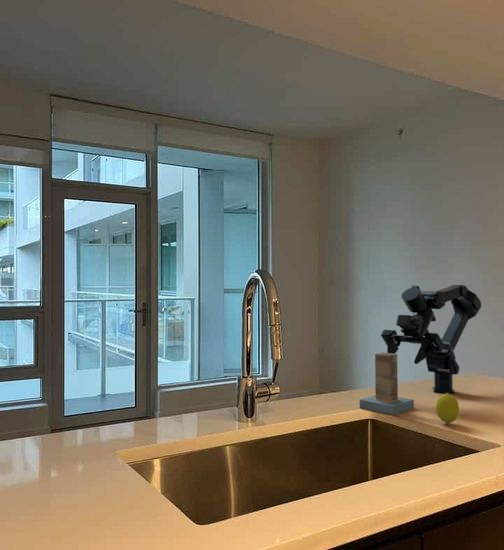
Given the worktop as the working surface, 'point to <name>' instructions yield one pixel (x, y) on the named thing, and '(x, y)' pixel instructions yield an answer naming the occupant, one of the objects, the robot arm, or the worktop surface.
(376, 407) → the plate
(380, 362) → the pillar
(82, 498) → the worktop surface
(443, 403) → the lemon
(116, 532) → the worktop surface
